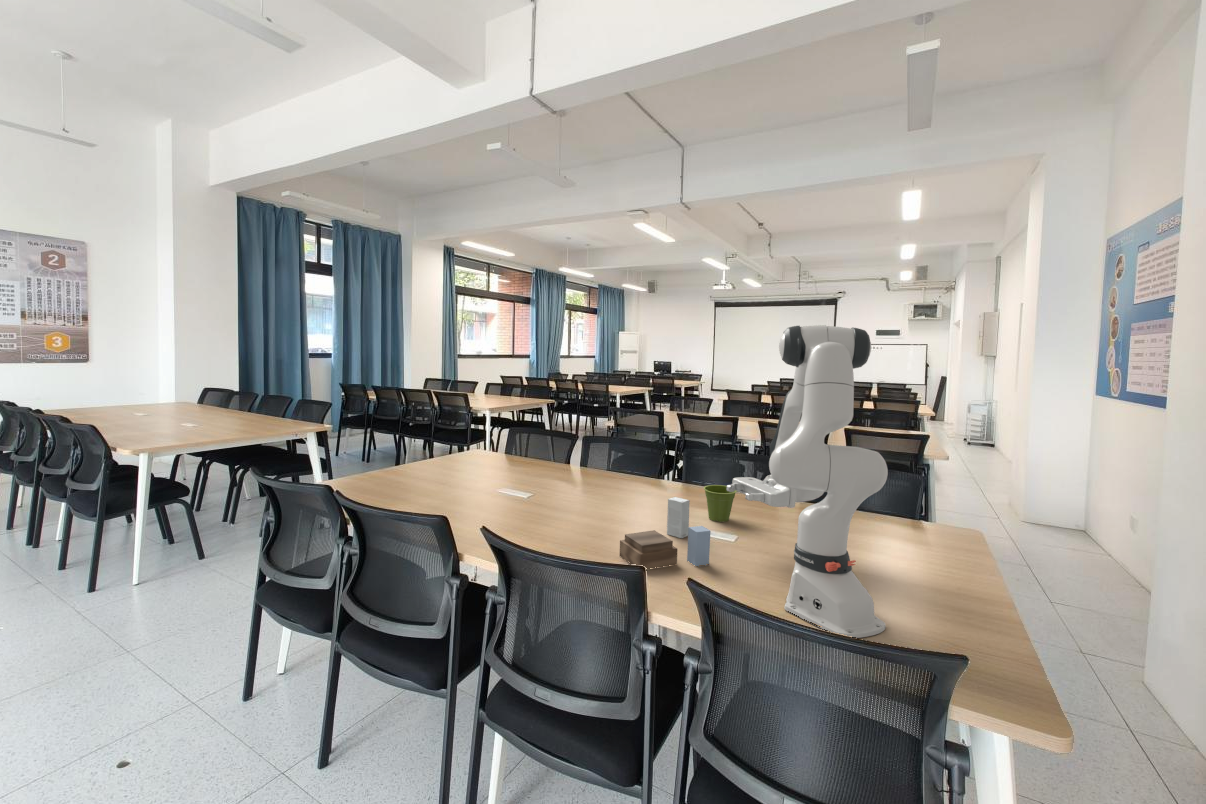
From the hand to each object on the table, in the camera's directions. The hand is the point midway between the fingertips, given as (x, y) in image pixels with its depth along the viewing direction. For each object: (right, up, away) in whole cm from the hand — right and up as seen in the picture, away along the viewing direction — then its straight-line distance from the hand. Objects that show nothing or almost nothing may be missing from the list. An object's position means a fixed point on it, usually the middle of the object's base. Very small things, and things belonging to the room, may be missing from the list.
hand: (737, 492), depth 159 cm
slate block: (-12, -20, -3) cm, 23 cm away
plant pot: (+3, -16, +39) cm, 43 cm away
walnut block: (-26, -19, -2) cm, 33 cm away
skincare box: (-15, -18, +21) cm, 31 cm away
